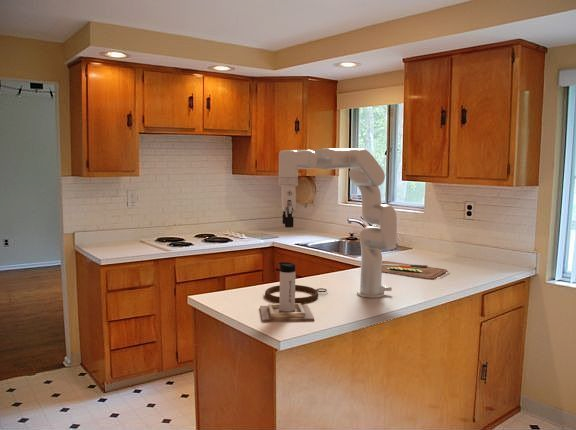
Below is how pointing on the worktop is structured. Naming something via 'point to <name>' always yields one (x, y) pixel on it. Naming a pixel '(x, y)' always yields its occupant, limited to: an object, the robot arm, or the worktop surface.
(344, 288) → the worktop surface
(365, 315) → the worktop surface
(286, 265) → the travel mug
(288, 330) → the worktop surface
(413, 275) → the chopping board
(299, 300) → the decorative ring
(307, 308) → the walnut coaster board
